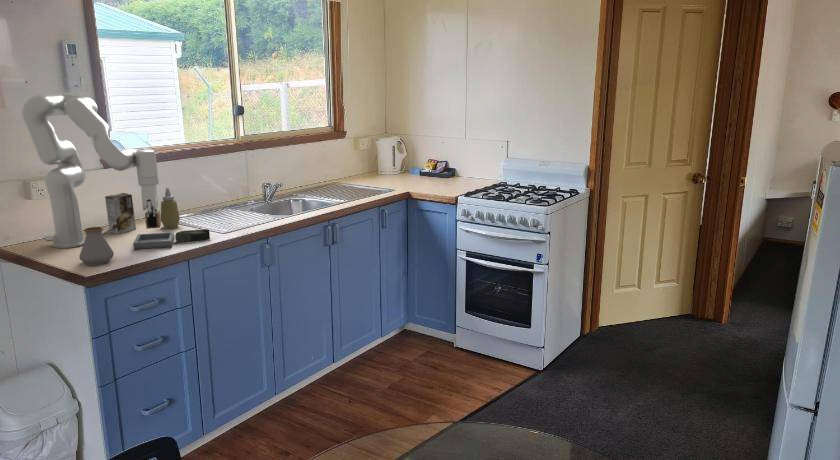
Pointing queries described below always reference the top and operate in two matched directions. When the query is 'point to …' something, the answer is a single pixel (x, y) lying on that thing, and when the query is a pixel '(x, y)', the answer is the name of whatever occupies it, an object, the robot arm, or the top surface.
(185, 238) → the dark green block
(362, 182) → the top surface
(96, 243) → the coffee pot
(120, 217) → the coffee box
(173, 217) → the squeeze bottle
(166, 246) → the tray
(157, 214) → the walnut block
